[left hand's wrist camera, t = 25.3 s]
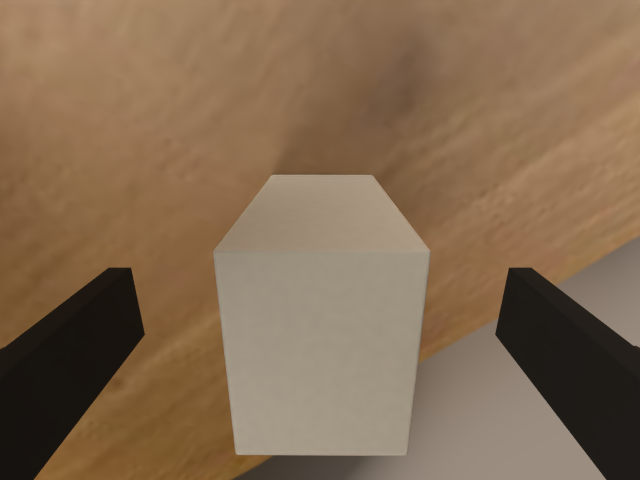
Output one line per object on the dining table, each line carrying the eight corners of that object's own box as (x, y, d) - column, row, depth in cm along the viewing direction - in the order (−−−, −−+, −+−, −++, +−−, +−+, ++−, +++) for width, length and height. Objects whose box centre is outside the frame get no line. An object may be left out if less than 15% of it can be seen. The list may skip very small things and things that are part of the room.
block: (366, 290, 21) (408, 457, 11) (276, 290, 21) (234, 455, 11) (372, 174, 18) (432, 250, 8) (271, 174, 18) (211, 250, 8)
